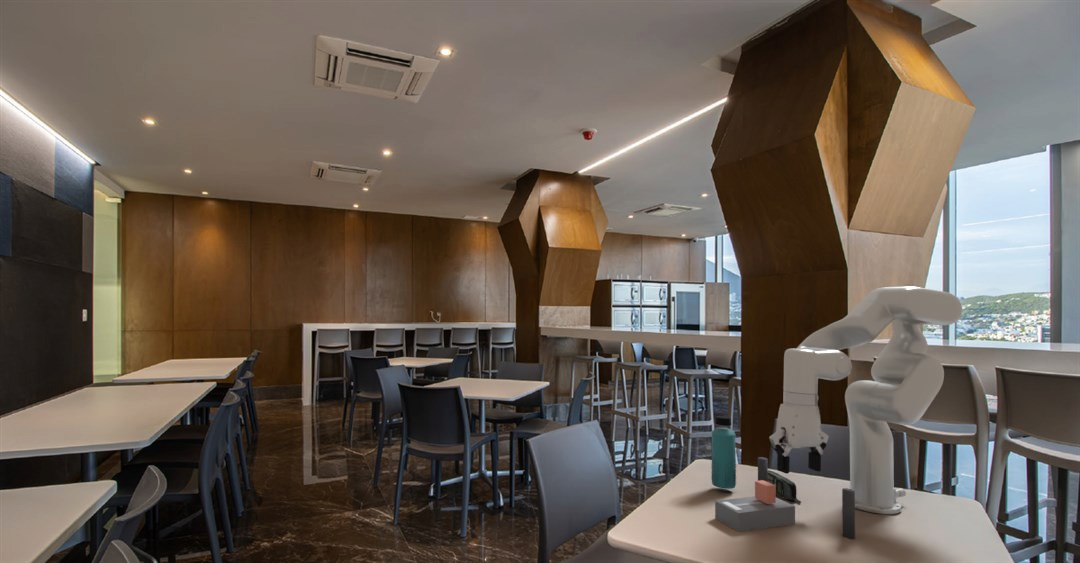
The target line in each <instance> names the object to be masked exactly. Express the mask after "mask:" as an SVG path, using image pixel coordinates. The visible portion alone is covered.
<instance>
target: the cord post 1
mask: <svg viewBox="0 0 1080 563" xmlns="http://www.w3.org/2000/svg"><path fill="white" fill-rule="evenodd" d="M768 460H769V459H768V458H767V457H763V456H760V457H759V456H758V457H757V481H760V480H764V481H766V482H768V470H769V468H768V464H769V463H768Z"/></svg>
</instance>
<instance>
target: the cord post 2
mask: <svg viewBox="0 0 1080 563" xmlns="http://www.w3.org/2000/svg"><path fill="white" fill-rule="evenodd" d="M841 493H842V495H841V500H842V501H841V502H842V503H841V504H842V506H841V509H842V511H841V512H842V516H841V517H842V518H841V519H842V537H843V538H845V539H849V540H855V539H856V508H855V491H854V490H852V489H850V488H847V487H844V488H841Z"/></svg>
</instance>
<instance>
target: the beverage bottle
mask: <svg viewBox="0 0 1080 563" xmlns="http://www.w3.org/2000/svg"><path fill="white" fill-rule="evenodd" d="M714 423H715V425H717V426H732V419H731V417H730V416H727V415H726V416H725V415H717V416H715V422H714ZM736 455H737V450H736V433H735V432H734V431H733V429H731V428H728V427H715V428H714V429H713V430H712V431H711V455H710V456H711V457H710V458H711V459H710V461H711V467H710V468H711V478H710V479H711V481H710V482H711V484H712V486H714V487H716V488H720V489H725V490H726V489H728V490H729V489H730V490H732V489H735V488H736V486H737V474H736V473H737V459H736V457H737V456H736Z"/></svg>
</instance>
